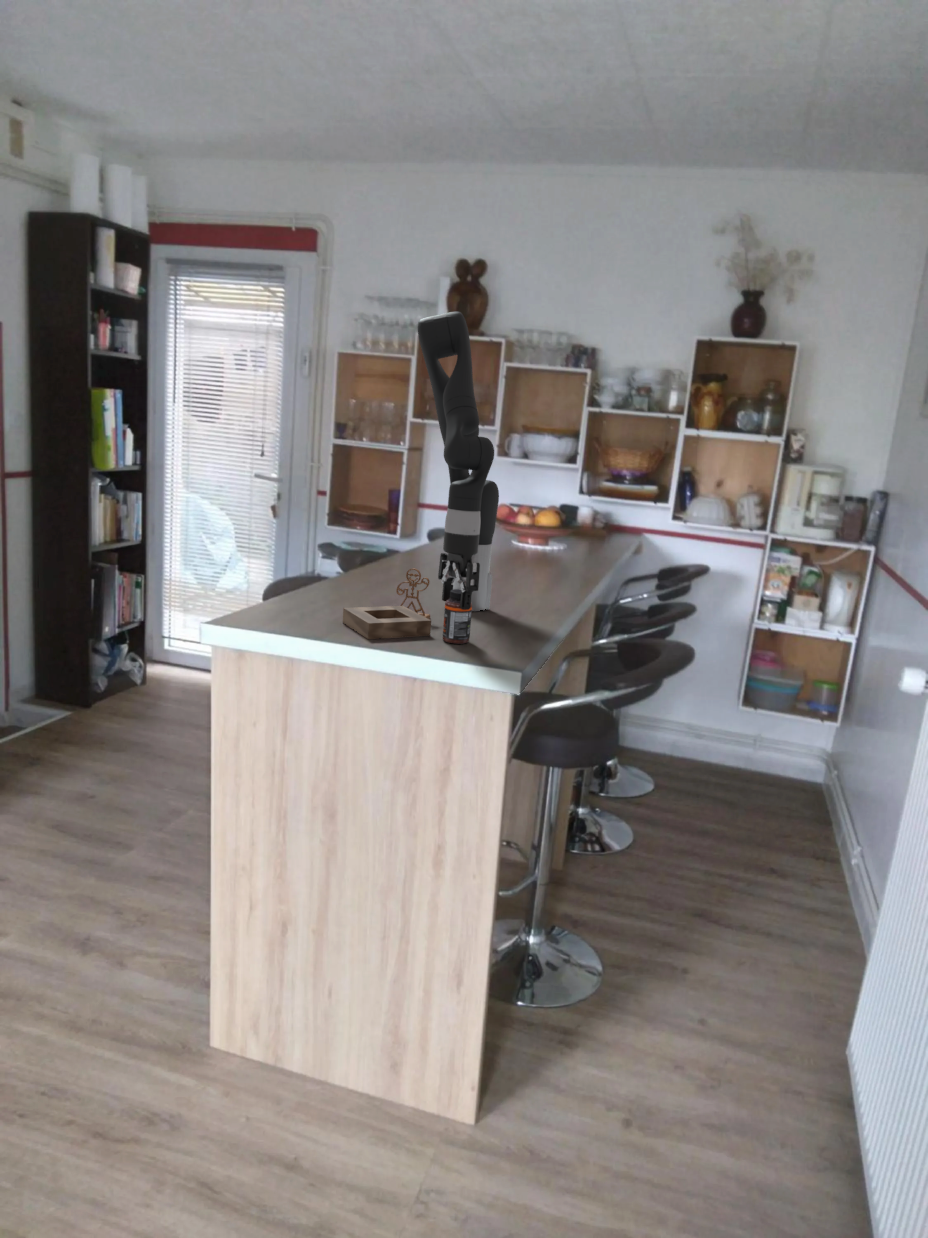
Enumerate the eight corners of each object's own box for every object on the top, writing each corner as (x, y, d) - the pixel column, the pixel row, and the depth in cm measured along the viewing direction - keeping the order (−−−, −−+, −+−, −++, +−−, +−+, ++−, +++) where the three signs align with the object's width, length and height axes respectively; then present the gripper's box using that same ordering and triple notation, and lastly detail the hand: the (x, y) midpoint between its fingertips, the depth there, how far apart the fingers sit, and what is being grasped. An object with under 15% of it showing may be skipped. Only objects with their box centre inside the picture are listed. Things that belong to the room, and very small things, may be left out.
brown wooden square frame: (401, 620, 205) (402, 605, 204) (430, 635, 192) (431, 620, 191) (342, 622, 197) (343, 607, 197) (367, 639, 185) (368, 623, 184)
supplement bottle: (441, 637, 192) (445, 587, 189) (467, 638, 192) (472, 589, 190) (442, 644, 186) (446, 592, 183) (470, 645, 187) (474, 594, 184)
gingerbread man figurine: (390, 616, 208) (393, 567, 205) (396, 613, 212) (399, 565, 209) (425, 621, 206) (428, 571, 203) (430, 618, 209) (434, 569, 207)
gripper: (493, 536, 179) (486, 612, 183) (462, 526, 192) (455, 598, 195) (462, 535, 176) (455, 612, 179) (431, 525, 188) (426, 598, 191)
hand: (455, 605), depth 187 cm, fingers open, 8 cm apart
